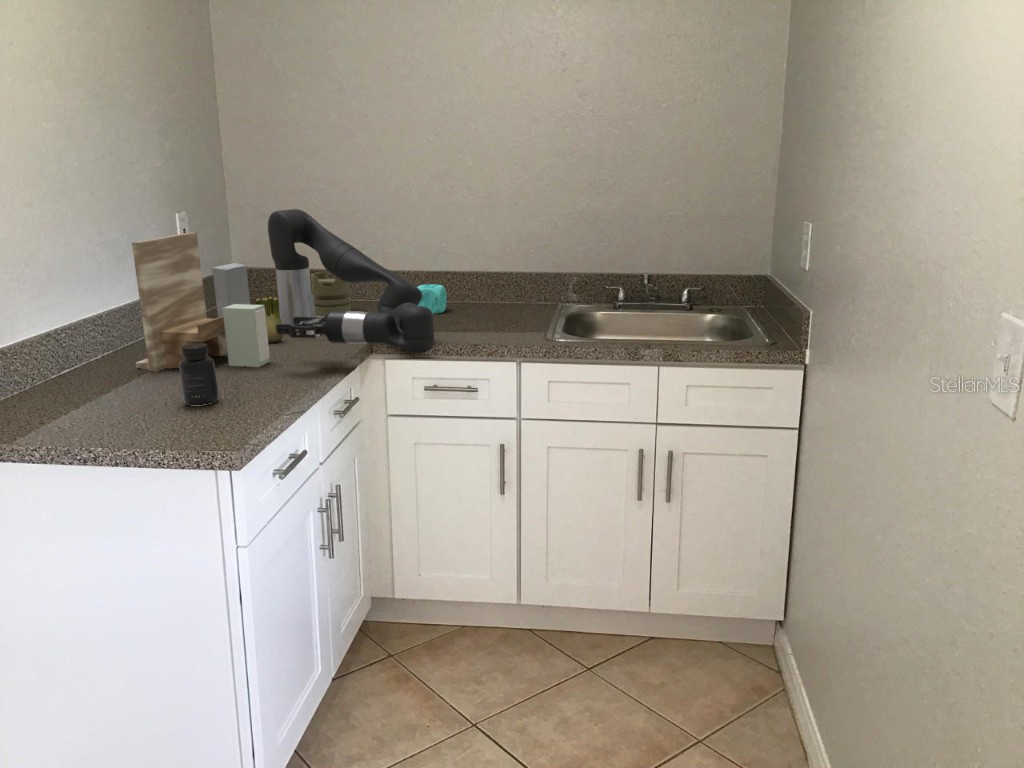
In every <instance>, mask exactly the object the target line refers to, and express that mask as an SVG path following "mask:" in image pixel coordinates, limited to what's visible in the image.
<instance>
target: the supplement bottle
mask: <svg viewBox="0 0 1024 768" xmlns="http://www.w3.org/2000/svg"><path fill="white" fill-rule="evenodd" d="M207 354H208V350H207V345H206V344H205V343H193V344H187V345H184V346H182V356H183V357H184V359H182V360H181V361H180V363H179V369H178V370H179V377H180V384H181V390H182V397H183V402H184V404H185V405H186V404H188V405H203V404H209V403H213V402H215V401H217V400H218V401H219V398H220V396H219V395H220V394H219V390H218V389H219V388H218V380H217V372H216V363H215V361H214V359H213V358H212V356H207ZM218 401H217V402H218Z"/></svg>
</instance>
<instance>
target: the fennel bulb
mask: <svg viewBox="0 0 1024 768" xmlns="http://www.w3.org/2000/svg"><path fill="white" fill-rule="evenodd" d="M261 300H262V301H261ZM255 305H264V308H265V315H266V326H267V336H268V344H275V342H276V343H278V342H280V341H282V339H283V338H284V337H283V336H284V334H277V332H276V325H278V324H282V323H281V319H280V311H279V299H278V298H276V297H274V298H273V297H272V296H271V297H270V296H269V297H268V298H262V299H261V298H256V299H255Z"/></svg>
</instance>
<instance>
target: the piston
mask: <svg viewBox="0 0 1024 768" xmlns="http://www.w3.org/2000/svg"><path fill="white" fill-rule="evenodd" d="M310 281H311V293H312V294H313V296H314V308H315V315H317V314H318V315H328V314H329V312H331V311H333V310H337V311H352V305H351V304H352V303H351V296H350V294H349V293H350V291H351V290H350V289H351V288H350V283H349V282H344V281H342V280H341V279H339V278H338V277H336V276H335V278H328V277H327V276H326V274H325V272H324V271H322V272H317V273H312V274H310Z"/></svg>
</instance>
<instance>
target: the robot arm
mask: <svg viewBox="0 0 1024 768" xmlns="http://www.w3.org/2000/svg"><path fill="white" fill-rule="evenodd" d="M267 233H268V241H269V248H270V253H271V257H272V261H273V262H274V267H275V268H274V269H275V277H276V287H277V297H278V298H277V299H279V315H280V319H281V323H282V324H278V325H276V332H277V334H283V335H289V336H290V338H292V339H294V338H297V339H300V338H301V339H315V338H316V337H323V335H325V337H326V339H327V341H329V342H330V343H332V344H348V345H349V344H350V345H352V344H353V345H361V344H378V345H379V344H380V345H382V344H383V345H388V346H392V347H396V348H399V349H401V350H404V351H407V352H411V353H416V354H425V353H427V352H429V351H431V350H432V349H433V347H434V345H435V327H434V314H432V312H431V310H430V309H429V308H427V307H423V306H418V304H419V303H420V301H421V299H422V292H421V291H420V290H419V289H418V288H417V287H418V286H416V285H414V284H413V282H410V281H409V280H406V279H405V278H403V277H401V276H400V275H398V274H396V273H394V272H393V271H391V270H389V269H387V268H386V267H384V266H382V265H380V264H379V263H378V262H376V261H374V260H373V259H372V258H371V257H368V256H367V255H366V254H364V253H363V252H362V251H360V250H359V249H358V248H356V247H354V246H353V245H351V244H350V243H349V242H346V241H344V240H343V239H342V238H340V237H339V236H337V235H336V234H334V233H333V232H331V231H329V230H328V229H326V228H325V227H324V226H323V225H322V224H320V223H319V222H318V221H317V220H316V219H315V218H313V217H312V216H311V215H310V214H309V213H307V212H306V211H304V210H301V209H298V208H295V209H294V208H292V209H282V210H275V211H273V212H272V213H270V215H269V217H268V221H267ZM299 243H300V244H304V245H306V246H308V247H309V248H311V249H312V250H314V251H315V252H316V253H318V256H319V260H320V262H321V264H322V266H323V268H325V269H326V271H328V273H330V274H332V275H333V276H335V278H336V277H338V278H339V279H341V280H342V281H344V282H349V284H350V283H351V284H355V283H356V284H357V283H368V282H378V283H385V284H387V286H386V288H385V290H384V292H383V293H382V295H381V297H380V298H379V300H378V302H377V307H376V308H377V311H378V312H370V311H369V312H366V311H361V310H360V311H359V310H351V311H337V310H333V311H331V312H329V314H328V315H318V314H317V315H315V308H314V297H315V295H314V294H313V293H312V282H311V274H310V273H311V271H310V260H309V258H308V257H307V256H306V255H304V254H303V255H302V254H300V253H299V252H298V251H297V250H296V246H295V244H299Z"/></svg>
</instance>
